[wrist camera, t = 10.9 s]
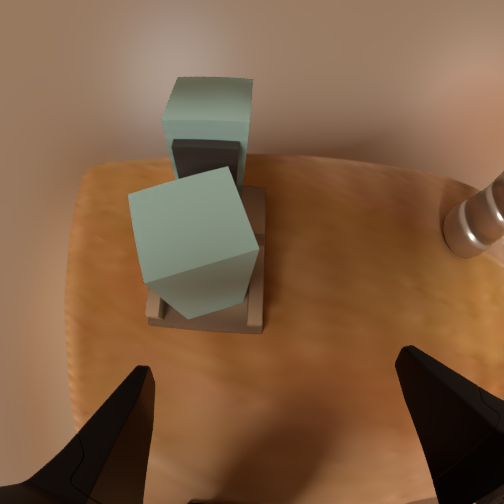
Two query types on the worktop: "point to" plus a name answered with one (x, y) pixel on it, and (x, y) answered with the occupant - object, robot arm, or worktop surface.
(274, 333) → the worktop surface
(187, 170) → the green block with base
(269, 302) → the worktop surface
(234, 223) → the block
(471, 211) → the plastic bottle
